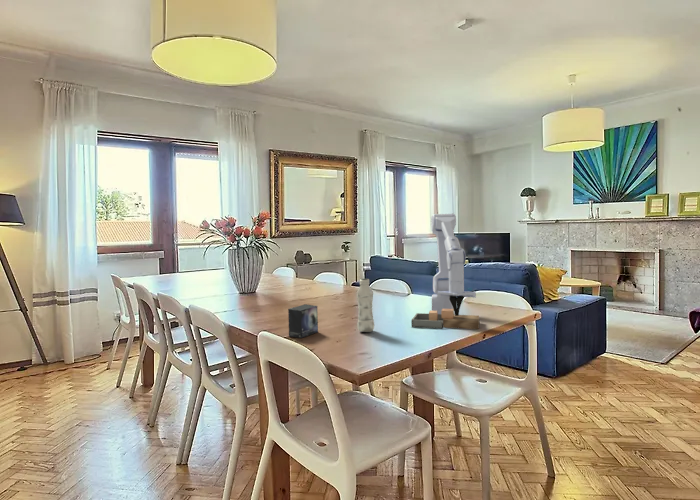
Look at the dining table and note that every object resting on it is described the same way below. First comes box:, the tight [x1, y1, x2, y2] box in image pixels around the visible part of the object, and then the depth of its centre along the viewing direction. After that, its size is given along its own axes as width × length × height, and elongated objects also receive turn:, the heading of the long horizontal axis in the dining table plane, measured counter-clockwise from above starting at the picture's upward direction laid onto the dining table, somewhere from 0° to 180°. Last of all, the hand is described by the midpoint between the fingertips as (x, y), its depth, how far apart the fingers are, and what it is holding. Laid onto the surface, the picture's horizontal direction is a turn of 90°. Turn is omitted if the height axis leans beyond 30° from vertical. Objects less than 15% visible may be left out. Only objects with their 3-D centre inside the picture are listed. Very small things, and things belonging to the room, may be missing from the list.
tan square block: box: [428, 310, 438, 321], centre depth 173 cm, size 4×4×3 cm
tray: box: [411, 312, 444, 329], centre depth 174 cm, size 12×13×3 cm
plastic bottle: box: [356, 278, 375, 333], centre depth 164 cm, size 6×7×20 cm
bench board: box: [442, 314, 480, 330], centre depth 170 cm, size 13×10×3 cm
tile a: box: [441, 309, 454, 319], centre depth 172 cm, size 4×4×3 cm
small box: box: [287, 303, 319, 339], centre depth 164 cm, size 11×6×10 cm, turn 148°
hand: (456, 315), depth 171 cm, fingers closed
